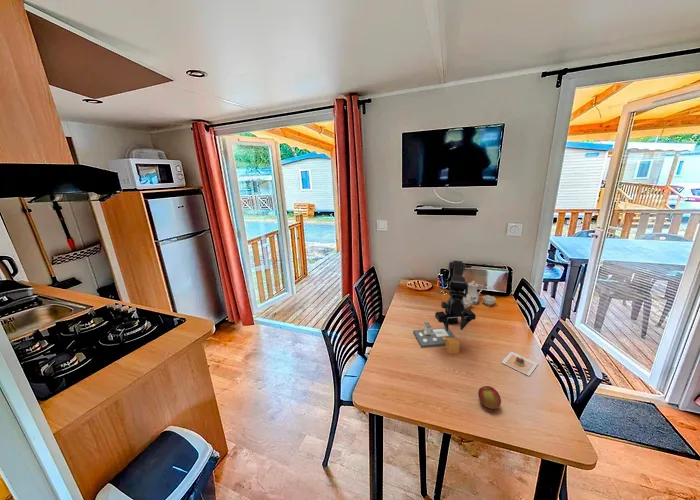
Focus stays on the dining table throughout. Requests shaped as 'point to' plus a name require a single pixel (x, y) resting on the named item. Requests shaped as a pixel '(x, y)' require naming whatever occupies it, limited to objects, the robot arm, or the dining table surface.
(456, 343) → the mustard yellow cube
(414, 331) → the breaker panel
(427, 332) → the lever
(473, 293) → the chinaware
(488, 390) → the apple
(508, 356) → the dessert
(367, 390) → the dining table surface
